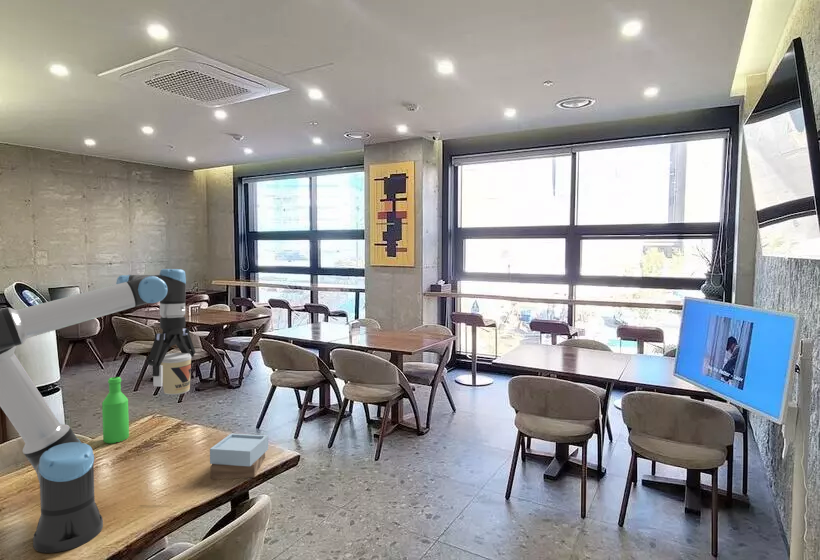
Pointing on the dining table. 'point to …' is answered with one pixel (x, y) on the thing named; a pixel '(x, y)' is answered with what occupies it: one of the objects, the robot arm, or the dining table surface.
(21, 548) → the dining table surface
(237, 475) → the block bottom
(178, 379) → the coffee cup
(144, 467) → the dining table surface
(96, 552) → the dining table surface
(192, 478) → the dining table surface
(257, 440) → the block top
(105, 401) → the bottle
